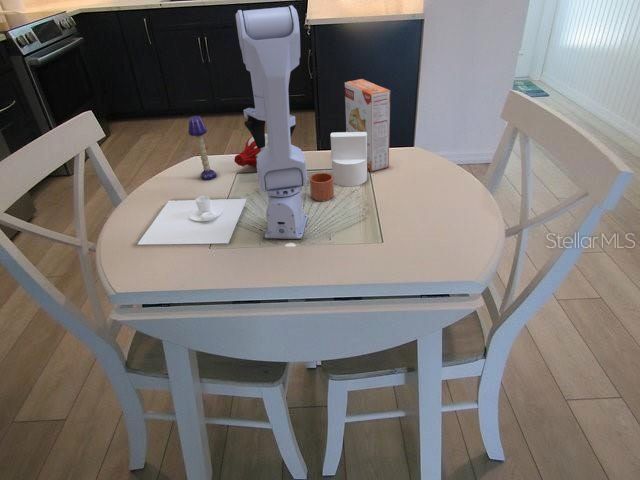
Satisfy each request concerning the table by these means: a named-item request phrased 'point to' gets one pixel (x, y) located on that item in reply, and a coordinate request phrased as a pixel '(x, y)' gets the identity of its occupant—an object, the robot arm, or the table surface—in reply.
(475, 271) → the table surface
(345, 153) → the cylinder with rectangular tab
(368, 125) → the cracker box
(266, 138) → the white lump red frill
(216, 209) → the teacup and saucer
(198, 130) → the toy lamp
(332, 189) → the pot
